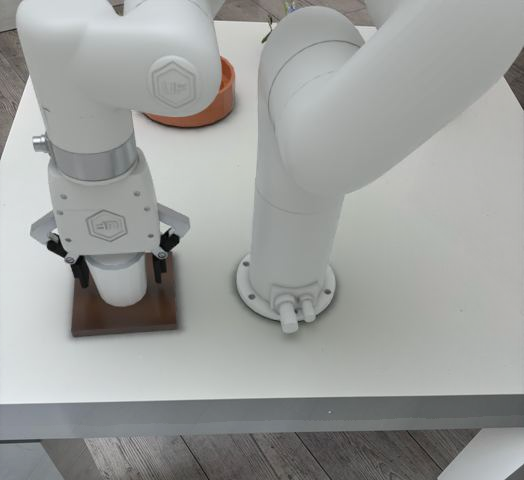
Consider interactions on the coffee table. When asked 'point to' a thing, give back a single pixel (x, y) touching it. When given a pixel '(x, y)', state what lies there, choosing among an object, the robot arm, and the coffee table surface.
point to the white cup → (119, 277)
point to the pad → (126, 307)
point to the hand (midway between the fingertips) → (122, 276)
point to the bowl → (215, 109)
